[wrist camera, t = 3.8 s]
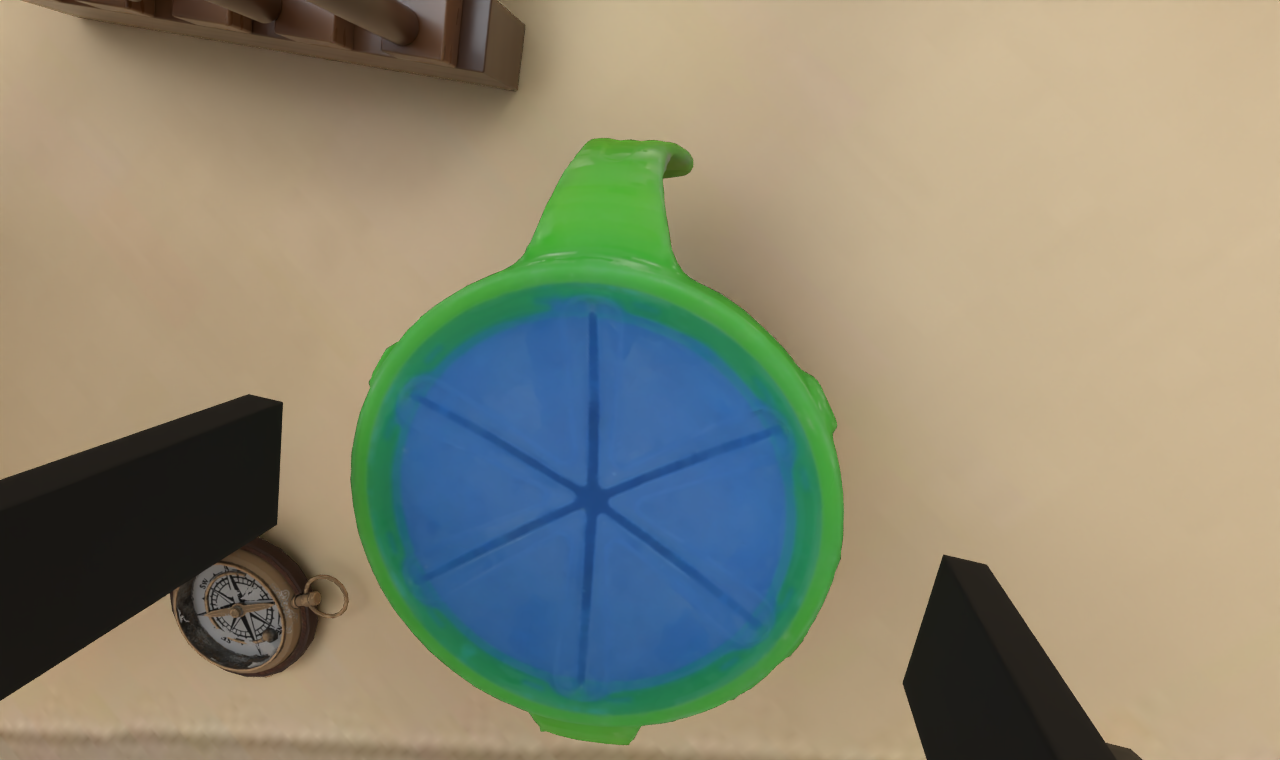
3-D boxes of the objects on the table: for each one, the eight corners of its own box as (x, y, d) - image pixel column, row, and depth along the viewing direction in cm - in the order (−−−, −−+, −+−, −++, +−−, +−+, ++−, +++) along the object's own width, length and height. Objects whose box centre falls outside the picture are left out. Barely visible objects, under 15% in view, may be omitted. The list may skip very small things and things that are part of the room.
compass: (218, 674, 30) (55, 814, 23) (151, 504, 28) (-46, 599, 21) (384, 651, 28) (263, 795, 21) (321, 471, 27) (170, 561, 20)
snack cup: (755, 623, 25) (760, 878, 16) (482, 560, 27) (327, 762, 17) (857, 188, 22) (947, 164, 12) (531, 135, 23) (367, 74, 13)
